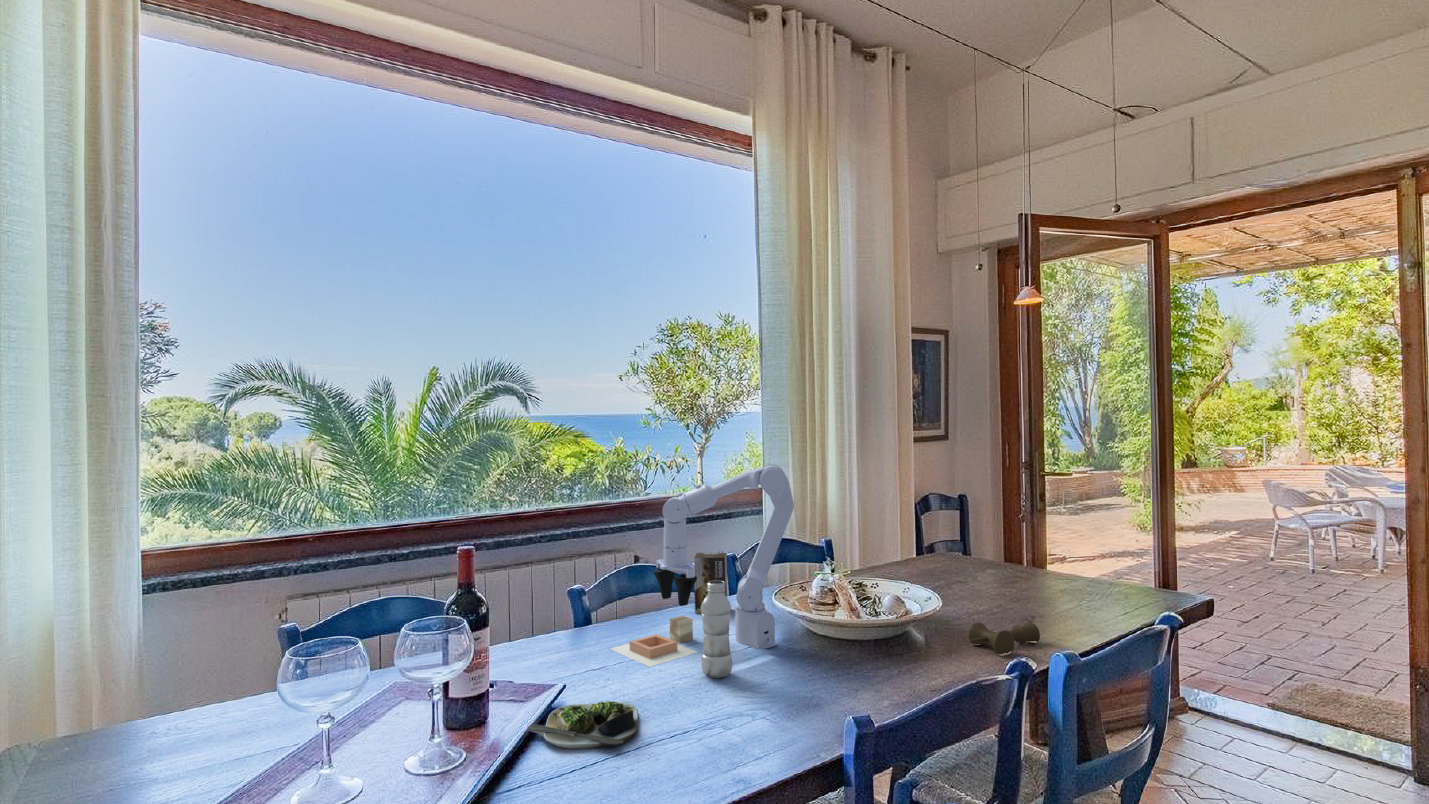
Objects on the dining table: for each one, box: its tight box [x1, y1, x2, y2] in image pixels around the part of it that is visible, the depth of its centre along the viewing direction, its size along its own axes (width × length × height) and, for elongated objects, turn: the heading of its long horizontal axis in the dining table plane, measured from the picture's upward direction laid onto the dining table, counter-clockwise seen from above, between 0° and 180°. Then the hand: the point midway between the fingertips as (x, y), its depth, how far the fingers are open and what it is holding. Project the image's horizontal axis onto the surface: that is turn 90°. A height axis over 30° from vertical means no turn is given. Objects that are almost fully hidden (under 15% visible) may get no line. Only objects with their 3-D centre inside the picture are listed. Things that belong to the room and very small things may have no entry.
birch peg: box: [669, 615, 694, 644], centre depth 171 cm, size 4×4×6 cm
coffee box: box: [693, 552, 728, 615], centre depth 199 cm, size 9×6×16 cm
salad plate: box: [527, 700, 640, 750], centre depth 124 cm, size 19×18×5 cm
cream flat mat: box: [609, 642, 698, 668], centre depth 163 cm, size 16×14×1 cm
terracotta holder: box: [629, 633, 678, 659], centre depth 163 cm, size 8×8×2 cm
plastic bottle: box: [701, 581, 734, 679], centre depth 149 cm, size 6×7×20 cm
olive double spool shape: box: [967, 621, 1041, 655], centre depth 166 cm, size 6×10×20 cm
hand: (674, 601), depth 171 cm, fingers open, 7 cm apart
